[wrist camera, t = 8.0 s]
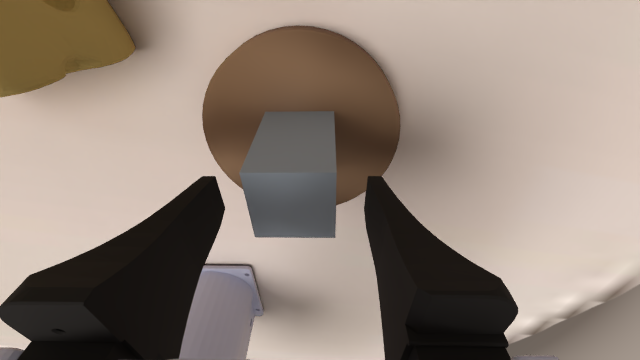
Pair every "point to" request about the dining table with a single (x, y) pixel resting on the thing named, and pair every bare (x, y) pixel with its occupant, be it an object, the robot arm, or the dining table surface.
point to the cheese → (56, 41)
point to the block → (292, 175)
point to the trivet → (304, 100)
